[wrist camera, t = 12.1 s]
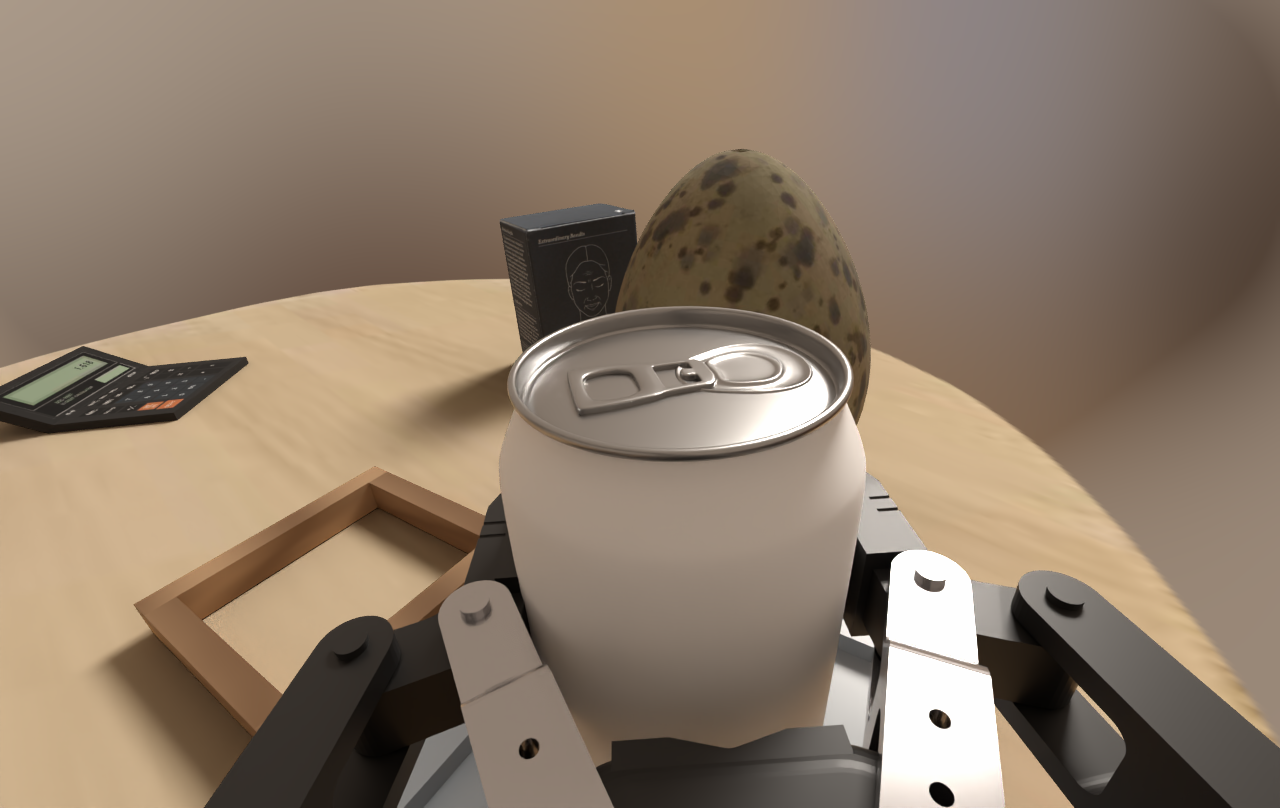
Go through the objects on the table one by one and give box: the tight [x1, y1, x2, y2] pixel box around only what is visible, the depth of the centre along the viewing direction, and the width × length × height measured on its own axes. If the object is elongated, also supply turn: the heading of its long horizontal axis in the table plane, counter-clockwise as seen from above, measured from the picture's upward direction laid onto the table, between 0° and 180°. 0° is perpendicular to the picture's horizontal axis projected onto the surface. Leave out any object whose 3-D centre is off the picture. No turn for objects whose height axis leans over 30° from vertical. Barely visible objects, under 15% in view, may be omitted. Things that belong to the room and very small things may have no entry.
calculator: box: [0, 346, 248, 433], centre depth 40 cm, size 9×12×3 cm
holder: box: [134, 466, 485, 737], centre depth 22 cm, size 10×10×2 cm
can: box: [499, 306, 866, 767], centre depth 12 cm, size 6×6×12 cm
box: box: [500, 204, 637, 352], centre depth 39 cm, size 8×6×11 cm
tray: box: [397, 619, 874, 808], centre depth 15 cm, size 13×13×2 cm
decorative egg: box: [615, 149, 871, 426], centre depth 23 cm, size 11×11×15 cm
